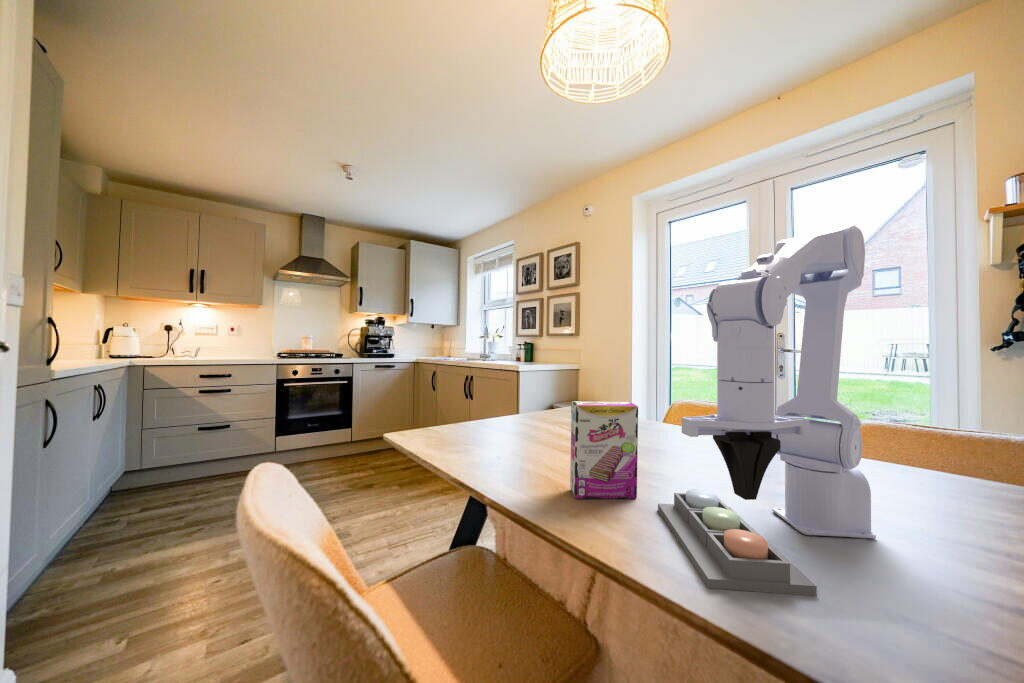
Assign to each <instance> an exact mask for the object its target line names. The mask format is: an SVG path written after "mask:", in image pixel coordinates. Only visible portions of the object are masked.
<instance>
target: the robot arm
mask: <svg viewBox="0 0 1024 683" xmlns="http://www.w3.org/2000/svg"><path fill="white" fill-rule="evenodd" d="M865 247H866V246H865V238H864V235H863V232H862V229H860V227H857V226H856V225H854V224H852V225H847V227H842V228H836V229H833V230H826V231H822V232H816V233H812V234H807V235H801V236H797V237H791V238H782V239H781V240H780V241H777V242H776V245H775V250H774V253H767V254H766V253H765V254H761V255H759V256H758V257H756V258H755V261H756V262H755V263H754V264H753V265H752V266H750V267H749V268H747V269H744V270H742V271H741V273H740V275H738V277H737V278H736V279H734V280H732V281H730V280H729V281H725V282H721V283H718V285H717V286H716V287H714V288H713V289H711V292H710V293H709V296H708V300H707V301H708V302H707V303H706V310H707V311H706V312H707V316H708V321H710V325H711V330H712V331H711V332H712V334H711V335H712V336H711V337H712V338H713V339H712V340H713V341H714V342H716V346H717V347H716V348H717V349H716V350H717V351H716V354H717V356H716V359H717V362H716V364H717V365H716V366H717V367H716V369H717V371H716V372H717V374H716V375H717V376H716V379H717V380H716V381H717V382H716V383H717V386H716V387H717V393H716V394H717V400H716V401H717V407H716V408H717V412H716V413H717V414H707V415H698V416H681V433H682V434H683V435H686V436H688V437H690V438H692V437H693V438H694V437H695V438H696V437H697V438H698V437H699V436H712V439H713V441H714V443H715V445H716V446H717V448H718V450H719V451H720V453H721V456H722V458H723V461H724V463H725V465H726V468H727V471H728V473H729V478H730V481H731V484H732V489H733V494H735V495H736V496H739V497H740V498H741V499H743V500H745V501H749V500H757V497H758V494H759V490H760V488H761V484H762V480H763V478H764V476H765V473H766V472H767V469H768V468H769V465H770V463H771V462H772V460H773V459H774V458H775V456H776V455H779V456H780V457H779V458H780V461H782V462H784V507H773V508H772V509H771V510H772V512H773V513H774V514H776V515H777V516H778V517H780V518H781V519H782V520H783V521H784V522H787V523H788V524H789V525H790V526H792V527H793V528H795V529H796V530H797V531H798V532H799V533H801V534H802V535H803V534H804V535H807V536H820V537H821V536H825V537H839V538H840V537H845V538H846V537H847V538H863V539H876V538H877V535H876V533H873V532H872V492H871V486H870V484H869V481H868V478H867V477H866V476H865V474H864V473H863V472H862V471H860V469H858V468H856V467H858V466H859V465H860V462H861V460H862V455H863V437H862V431H861V430H862V429H861V428H862V422H861V420H860V419H859V417H858V415H857V414H856V413H855V412H854V411H852V410H851V409H849V408H847V406H845V405H844V404H842V403H841V402H839V401H838V390H839V378H840V369H841V368H840V367H841V366H840V365H841V356H842V354H841V353H842V343H843V342H842V341H843V340H842V339H843V330H844V329H843V328H844V318H845V317H844V316H845V309H846V308H845V307H846V303H847V300H848V299H847V298H848V294H849V293H850V292H852V291H854V290H855V289H858V288H860V287H861V286H862V281H863V278H864V273H865V263H866V262H865V261H866V248H865ZM792 294H794V295H796V296H800V297H802V298H803V299H804V300H805V305H804V317H803V318H804V319H803V328H802V339H801V349H800V358H799V359H800V360H799V370H798V382H797V390H796V396H794V397H792V398H791V399H789V400H787V401H785V402H783V403H782V404H780V405H778V406H777V409H776V412H775V327H777V326H778V325H780V324H781V323H782V319H783V318H784V312H785V307H786V306H787V303H788V297H790V295H792ZM815 419H818V420H815ZM821 420H823V421H821ZM824 420H825V421H824ZM830 421H834V422H830ZM836 422H839V423H836Z"/></svg>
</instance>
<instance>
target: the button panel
mask: <svg viewBox="0 0 1024 683" xmlns="http://www.w3.org/2000/svg"><path fill="white" fill-rule="evenodd" d="M718 507H719V508H724V509H728V510H731V511H733V512H735V513H737V512H736V511H734V510H733V508H731V506H728V505H727V504H726V503H724V502H723V501H722V500H721V499H720V498H719V497H718ZM657 511H658V512H659V513H660V516H661V517H662V518H663V521H664V522H665V523H666V524H667V526H668V528H669V529H670V531H671V532H672V534H673V536H675V539H676V540H677V541H678V543H679V544H680V546H681V548H682V549H683V551H684V552H685V553H686V555H687V557H688V558H689V560H690V561H691V563H692V565H693V566H694V568H695V569H696V571H697V572H698V574H699V576H700V577H701V579H702V580H703V582H704V584H705V585H706V587H707V588H708V589H717V590H732V591H744V592H745V591H747V592H760V593H761V592H762V593H776V594H789V595H800V596H801V595H804V596H818V595H817V594H818V590H817V589H818V588H817V585H816V584H815V583H814V582H813V581H812V580H811V579H810V578H808V577H807V576H806V575H805V574H804V573H803V572H802V571H801V570H799V569H798V567H797V566H795V565H794V564H793V563H792V562H790V560H789V559H787V558H786V557H785V556H784V554H782V553H781V552H780V551H779V550H777V548H776V547H774V546H773V545H772V544H771V543H770V542H768V540H766V541H767V542H768V560H762V559H745V558H732V557H731V555H730V554H729V553H728V552H727V551H726V550H725V548H724V532H725V531H726V530H708V528H707V527H706V526H705V525H704V524H703V509H700V508H690V507H689V506H688V505H687V504H686V492H684V493H683V492H674V493H673V503H657ZM740 530H745V531H749V532H752V533H755V534H757V535H759V536H761V537H763V536H762V535H761V534H760V533H759V532H758V531H757V530H755V529H754V527H752V526H751V525H750V524H749V523H748V522H747V521H746V520H745V519H743V518H742V517H741V516H740Z"/></svg>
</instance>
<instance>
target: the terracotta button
mask: <svg viewBox="0 0 1024 683" xmlns="http://www.w3.org/2000/svg"><path fill="white" fill-rule="evenodd" d="M761 536H762V535H761ZM761 536H759V535H757V534H755V533H752V532H749V531H745V530H739V529H730V530H726V531H725V532H724V548H725V550H726V551H727V552H728V553H729V554H730V555H731V557H732V558H745V559H762V560H768V542H767V541H768V540H767V539H766V538H764V536H762V537H761Z"/></svg>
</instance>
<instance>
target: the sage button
mask: <svg viewBox="0 0 1024 683" xmlns="http://www.w3.org/2000/svg"><path fill="white" fill-rule="evenodd" d="M733 511H734V510H733ZM733 511H731V510H728V509H724V508H719V507H706V508H704V509H703V524H704V525H705V526H706V527H707V528H708V530H730V529H739V530H740V517H741V515H739V513H737V512H736V511H735V512H736V513H735V512H733Z"/></svg>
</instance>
